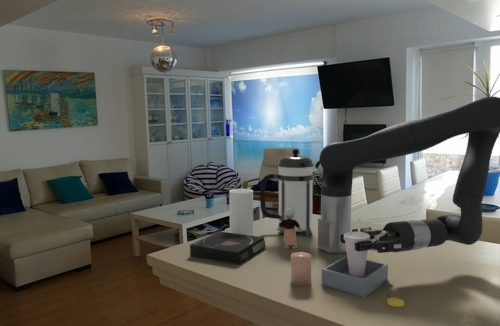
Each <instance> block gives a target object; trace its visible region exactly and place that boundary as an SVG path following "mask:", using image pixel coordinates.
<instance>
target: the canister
mask: <svg viewBox="0 0 500 326" xmlns="http://www.w3.org/2000/svg"><path fill="white" fill-rule="evenodd" d="M290 284H291V285H292V286H296V287H308V286H311V284H312V254H311V253H308V252H305V251H296V252H292V253H291V254H290Z"/></svg>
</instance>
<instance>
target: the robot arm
mask: <svg viewBox="0 0 500 326" xmlns="http://www.w3.org/2000/svg"><path fill="white" fill-rule="evenodd" d="M465 134H468V139H467V145H466V150H465V154H464V157H463V160H462V163H461V167H460V170H459V173H458V177H457V179H456V184H455V187H454V191H453V195H452V203H453V204H454V205H455V206H457V207H460V215H456V214H445V215H439V216H438V217H433V218H429V219H427V218H426V219H417V220H416V219H411V220H410V219H409V220H402V221H401V220H399V221H392V222H388V223H386V224H385V225H384V226H383V228H382V229H381V228H374V229H373V228H372V227H371V226H368V227H360V232H363V233H367V234H369V235H370V241H369V240H365V241H357V242H355V250H356V251H365V250H368V251H372V252H375V251H376V252H377V253H379V254H382V253H384V254H385V253H402V252H410V251H416V250H421V249H423V248H431V247H438V246H441V245H443V244H444V243H445V242H447V241H449V242H454V243H458V244H463V245H465V246H466V245H467V246H470V245H471V246H472V245H474V244H475V243H477V242H478V241H479V239H480V238H481V236H482V233H483V208H482V205H483V204H482V203H483V198H484V195H485V191H486V188H487V182H488V178H489V170H490V162H491V157H492V153H493V150H494V146H495V144H496V142H497V139H498V138H499V135H500V96H499V97H498V96H493V95H492V96H485V97H481V98H478V99H476V100H473V101H471V102H468V103H466V104H463V105H460V106H458V107H456V108H453V109H451V110H446V111H444V112H439V113H434V114H431V115H430V114H429V115H426V116H423V117H418V118H416V119H410V120H407V121H404V122H400V123H397V124H394V125H391V126H389V127H386V128H383V129H381V130H378V131H376V132H374V133H372V134H369V135H367V136H364V137H361V138H357V139H352V140H346V141H341V142H340V141H334V142H331V143H329V144H327V145H325V146H324V147H323V149H322V150H321V151H320V153H319V159H318V160H319V163H320V166H321V168H322V181H321V186H320V217H319V218H318V219H317V248H318V249H320V250H321V251H324V252H325V253H326V252H327V253H328V254H334V253H335V254H343V253H347V252H346V245H345V240H344V239H343V238H344V234H345V233H348V232H358V228H353V229H352V197H353V196H352V194H353V193H352V191H353V179H354V178H353V177H354V176H353V175H354V174H353V173H354V168H355V167H359V166H361V165H365V164H369V163H371V162H376V161H383V160H389V159H395V158H399V157H403V156H409V155H411V154H415V153H419V152H423V151H425V150H428V149H430V148H433V147H435V146H437V145H439V144H441V143H443V142H446V141H448V140H449V139H452V138H454V137H458V136H461V135H465Z"/></svg>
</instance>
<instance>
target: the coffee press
mask: <svg viewBox="0 0 500 326" xmlns="http://www.w3.org/2000/svg"><path fill="white" fill-rule="evenodd" d="M299 153H300V151H299V150H298V148H293V150H292V155H286V156H283V157H281V158H280V159H279V160H278V163H277V164H276V165H277V167H278V173H277V174H276V173H275V174H274V173H269V174H266V175H265V176H264V177H262V179H261V183H260V193H259V195H260V204H259V205H260V210H261V213H262V214H263V216H265V218H268V219H277V220H278V224H279V223H280V222H281V221H283V220H285V219H287V218H286V216H285V215H284V212H285V210H286V209H287V208H293V210H294V216H293V218H292V219H294V220H296V221H297V222H298V223H299V225H300V227H301V230H302V232H304V233H305V235H306V236H307V235H309V236H308V237H310V235H311V236H313V233H312V230H311V228H313V227H312V226H313V191H314V190H313V187H314V185H313V182H314V173H315V172H317V173H318V172H319V171H318V169H317V167H316V166H315V164H314V162H313V160H312V159H311V158H310V157H309V156H304V155H298V154H299ZM275 179H278V213H272V212H268V210H267V208H266V184H267V182H268V181H269V180H275ZM284 228H285V227H281V229H280V231H278V234H279V236H283V237H284ZM295 230H296V233H298V232H299V230H298V228H297V227H296V226H295ZM299 233H300V232H299Z"/></svg>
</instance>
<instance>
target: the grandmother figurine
mask: <svg viewBox="0 0 500 326" xmlns="http://www.w3.org/2000/svg"><path fill="white" fill-rule="evenodd" d="M284 215H285V216H286V218H287V219H285V220H283V221H281V222H280V223H279V222H278V226H277V228H276V230H277V232H279V231H280V229H281V227H285V228H284V230H283V231H284V236H283V243H284V245H283V248H284V249H290V248H291V249H297V248H299V245H298V244H297V232H296V230H295V226H296V227H297V228H298V230H299V233H302V232H303V231H302V230H301V227H300V225H299V223H298V222H297V221H296V220H294V219H292V218H293V216H294V210H293V208H287V209H286V210H285V212H284Z"/></svg>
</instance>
